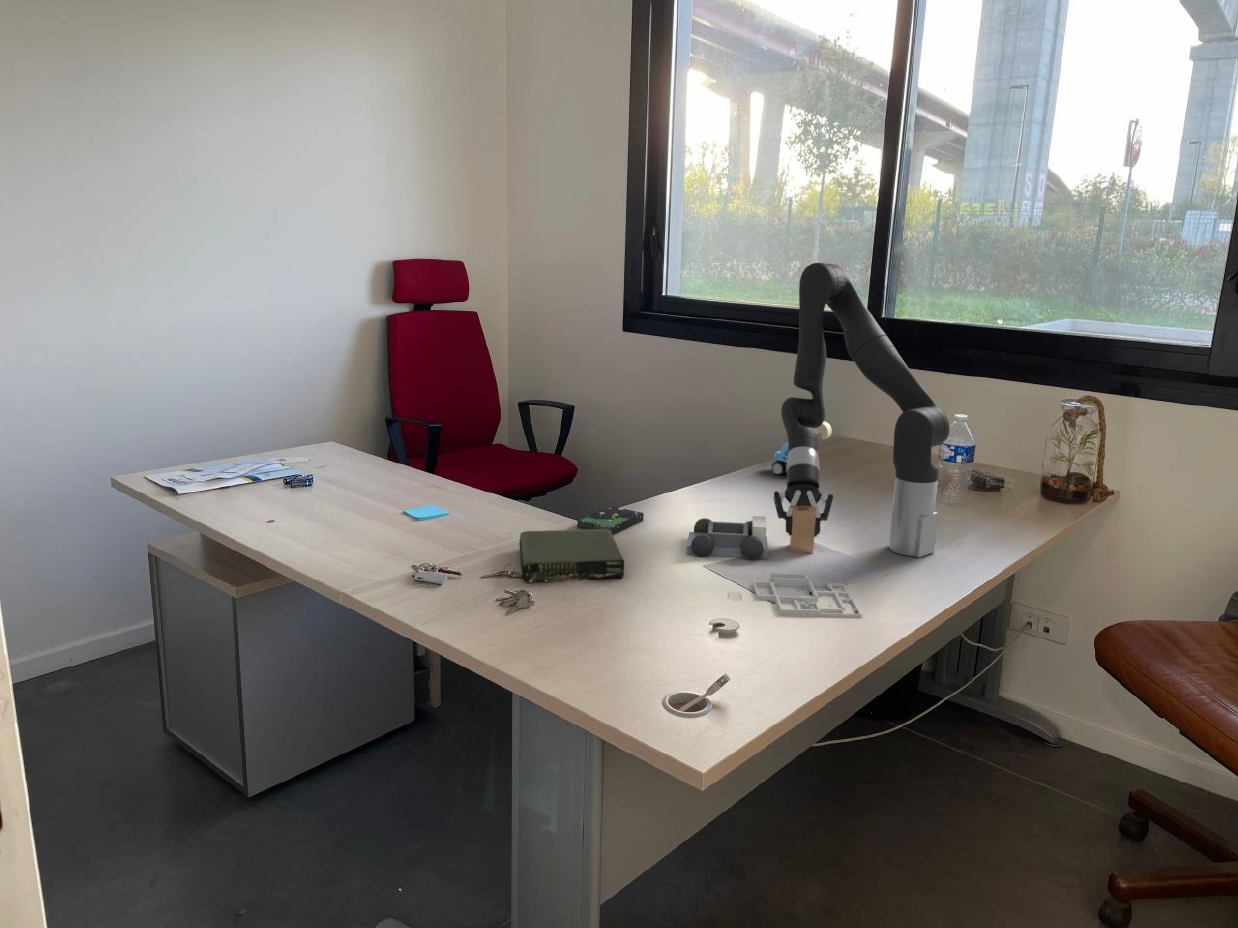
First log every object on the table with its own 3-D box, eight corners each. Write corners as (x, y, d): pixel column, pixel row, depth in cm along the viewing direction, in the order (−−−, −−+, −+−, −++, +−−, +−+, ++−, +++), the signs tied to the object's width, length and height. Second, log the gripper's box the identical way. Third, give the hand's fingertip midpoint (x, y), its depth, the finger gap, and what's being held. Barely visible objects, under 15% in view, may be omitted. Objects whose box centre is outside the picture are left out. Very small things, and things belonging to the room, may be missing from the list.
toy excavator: (819, 483, 268) (823, 425, 264) (768, 474, 278) (771, 418, 274) (831, 477, 275) (835, 421, 271) (781, 468, 285) (784, 413, 281)
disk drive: (609, 516, 237) (576, 530, 225) (609, 505, 237) (576, 519, 224) (644, 523, 232) (612, 537, 220) (644, 512, 231) (612, 526, 219)
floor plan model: (721, 580, 194) (722, 571, 193) (841, 583, 194) (841, 574, 193) (730, 617, 176) (730, 607, 175) (862, 620, 175) (862, 610, 175)
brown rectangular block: (811, 546, 215) (814, 504, 212) (813, 553, 210) (815, 511, 207) (789, 544, 215) (792, 503, 213) (790, 552, 210) (793, 510, 208)
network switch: (525, 590, 187) (525, 567, 186) (507, 552, 209) (507, 531, 208) (635, 580, 193) (636, 557, 192) (607, 544, 215) (607, 523, 214)
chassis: (766, 541, 217) (767, 513, 215) (767, 561, 204) (769, 531, 203) (689, 537, 219) (690, 509, 218) (686, 556, 207) (687, 526, 205)
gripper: (773, 460, 216) (772, 525, 207) (835, 463, 214) (837, 528, 206) (771, 476, 222) (770, 540, 214) (832, 479, 221) (833, 543, 212)
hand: (803, 534), depth 210 cm, fingers closed on brown rectangular block, 5 cm apart
